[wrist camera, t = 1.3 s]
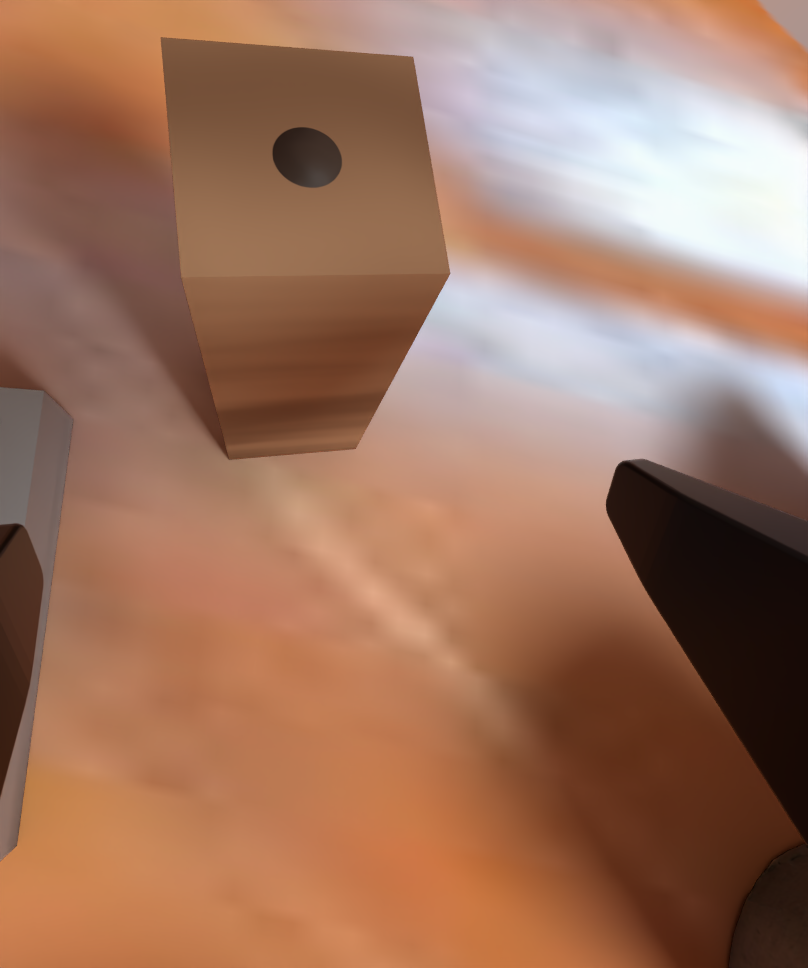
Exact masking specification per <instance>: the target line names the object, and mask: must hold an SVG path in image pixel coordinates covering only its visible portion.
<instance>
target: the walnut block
mask: <svg viewBox="0 0 808 968" xmlns="http://www.w3.org/2000/svg"><path fill="white" fill-rule="evenodd" d="M161 47H162V59H163V71H164V82H165V94H166V106H167V118H168V129H169V141H170V153H171V165H172V177H173V188H174V200H175V212H176V224H177V236H178V247H179V259H180V271H181V279H182V283H183V287H184V290H185V294H186V298H187V302H188V306H189V309H190V313H191V317H192V321H193V324H194V328H195V332H196V336H197V340H198V343H199V347H200V351H201V355H202V359H203V362H204V366H205V370H206V374H207V377H208V381H209V385H210V389H211V393H212V396H213V400H214V404H215V408H216V411H217V415H218V419H219V423H220V427H221V430H222V434H223V438H224V442H225V445H226V449H227V453H228V457H229V460H232V459H243V458H255V457H267V456H278V455H290V454H302V453H313V452H325V451H337V450H349V449H356V447H357V445H358V443H359V441H360V440H361V438H362V436H363V434H364V432H365V430H366V428H367V427H368V425H369V423H370V421H371V419H372V417H373V416H374V414H375V412H376V410H377V408H378V406H379V404H380V403H381V401H382V399H383V397H384V395H385V393H386V391H387V390H388V388H389V386H390V384H391V382H392V380H393V379H394V377H395V375H396V373H397V371H398V369H399V367H400V366H401V364H402V362H403V360H404V358H405V356H406V354H407V353H408V351H409V349H410V347H411V345H412V343H413V342H414V340H415V338H416V336H417V334H418V332H419V330H420V329H421V327H422V325H423V323H424V321H425V319H426V317H427V316H428V314H429V312H430V310H431V308H432V306H433V305H434V303H435V301H436V299H437V297H438V295H439V293H440V292H441V290H442V288H443V286H444V284H445V282H446V280H447V279H448V277H449V275H450V269H449V264H448V258H447V252H446V246H445V240H444V234H443V228H442V223H441V217H440V211H439V205H438V199H437V193H436V187H435V182H434V176H433V170H432V164H431V158H430V152H429V146H428V141H427V135H426V129H425V123H424V117H423V111H422V106H421V100H420V94H419V88H418V82H417V76H416V70H415V65H414V59H413V57H408V56H395V55H382V54H369V53H356V52H344V51H331V50H318V49H305V48H292V47H279V46H266V45H253V44H240V43H227V42H215V41H202V40H189V39H176V38H163V37H161Z"/></svg>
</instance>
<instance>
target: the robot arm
mask: <svg viewBox="0 0 808 968" xmlns="http://www.w3.org/2000/svg"><path fill="white" fill-rule="evenodd" d="M606 510H607V514H608V517H609V519H610V521H611V523H612V525H613V527H614V529H615V531H616V533H617V535H618V537H619V539H620V541H621V543H622V545H623V547H624V549H625V551H626V553H627V555H628V557H629V559H630V561H631V563H632V565H633V567H634V569H635V571H636V573H637V575H638V577H639V579H640V581H641V583H642V585H643V586H644V588H645V590H646V591H647V593H648V595H649V597H650V598H651V600H652V601H653V603H654V605H655V606H656V608H657V609H658V611H659V612H660V614H661V616H662V617H663V619H664V620H665V622H666V624H667V625H668V627H669V628H670V630H671V631H672V633H673V635H674V636H675V638H676V639H677V641H678V643H679V644H680V646H681V647H682V649H683V650H684V652H685V654H686V655H687V657H688V658H689V660H690V662H691V663H692V665H693V666H694V668H695V669H696V671H697V673H698V674H699V676H700V677H701V679H702V681H703V682H704V684H705V685H706V687H707V688H708V690H709V692H710V693H711V695H712V696H713V698H714V700H715V701H716V703H717V704H718V706H719V707H720V709H721V711H722V712H723V714H724V715H725V717H726V719H727V720H728V722H729V723H730V725H731V726H732V728H733V730H734V731H735V733H736V734H737V736H738V738H739V739H740V741H741V742H742V744H743V745H744V747H745V749H746V750H747V752H748V753H749V755H750V757H751V758H752V760H753V761H754V763H755V764H756V766H757V768H758V769H759V771H760V772H761V774H762V776H763V777H764V779H765V780H766V782H767V783H768V785H769V787H770V788H771V790H772V791H773V793H774V795H775V796H776V798H777V799H778V801H779V802H780V804H781V806H782V807H783V809H784V810H785V812H786V814H787V815H788V817H789V818H790V820H791V821H792V823H793V825H794V826H795V828H796V829H797V831H798V833H799V834H800V836H801V837H802V839H803V840H804V842H805V843H806V844H807V845H808V521H807V520H804V519H801V518H799V517H796V516H793V515H791V514H788V513H786V512H783V511H780V510H778V509H775V508H772V507H770V506H767V505H764V504H762V503H759V502H757V501H754V500H751V499H749V498H746V497H743V496H741V495H738V494H735V493H733V492H730V491H728V490H725V489H722V488H720V487H717V486H714V485H712V484H709V483H706V482H704V481H701V480H699V479H696V478H693V477H691V476H688V475H685V474H683V473H680V472H677V471H675V470H672V469H670V468H667V467H664V466H662V465H659V464H656V463H654V462H651V461H649V460H645V459H635V460H626V461H622V462H620V463H619V464H618V466H617V467H616V469H615V473H614V476H613V479H612V483H611V486H610V489H609V493H608V496H607V499H606ZM43 586H44V578H43V572H42V568H41V565H40V563H39V560H38V557H37V555H36V552H35V550H34V547H33V544H32V542H31V539H30V537H29V534H28V532H27V530H26V529H25V527H24V526H23V525H21V524H19V523H12V524H2V525H0V798H1V794H2V790H3V786H4V783H5V779H6V775H7V772H8V768H9V764H10V760H11V757H12V753H13V749H14V746H15V742H16V738H17V734H18V731H19V727H20V723H21V719H22V716H23V712H24V708H25V705H26V701H27V696H28V692H29V688H30V683H31V677H32V670H33V663H34V655H35V648H36V640H37V632H38V625H39V617H40V610H41V602H42V594H43Z"/></svg>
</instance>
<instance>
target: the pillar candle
mask: <svg viewBox="0 0 808 968" xmlns="http://www.w3.org/2000/svg"><path fill="white" fill-rule="evenodd" d="M729 968H808V845H807V844H802V845H801V846H799V847H796V848H793V849H791V850H789V851H787V852H785V853H784V854H783V855H780V856H779V857H778V858H777V859H774V860H773V861H772V862H771V864H770V865H769V866H768V868H767V869H766V870H765V871H764V873H762V875H761V876H760V877H759V879H758V880H757V882H756V884H755V886H754V887H753V889H752V891H751V893H750V894H749V896H748V897H747V899H746V902H745V904H744V906H743V908H742V912H741V915H740V918H739V920H738V923H737V925H736V929H735V932H734V936H733V941H732V946H731V953H730V961H729Z"/></svg>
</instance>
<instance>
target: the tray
mask: <svg viewBox="0 0 808 968" xmlns="http://www.w3.org/2000/svg"><path fill="white" fill-rule="evenodd" d="M72 425H73V418H72V417H71V416H70V415H69V414H68V413H67V412H66V411H65V410H64V409H63V408H62V407H61V406H59V405H58V404H57V403H56V402H55V401H54V400H53V399H52V398H51V397H50V396H49V395H48V394H47V393H46V392H45V391H42V390H29V389H17V388H4V387H0V525H2V524H12V523H19V524H21V525H23V526H24V527H25V529H26V530H27V532H28V534H29V537H30V539H31V542H32V544H33V547H34V550H35V552H36V555H37V557H38V560H39V563H40V565H41V568H42V572H43V578H44V586H43V594H42V602H41V610H40V617H39V625H38V632H37V640H36V648H35V655H34V663H33V670H32V677H31V683H30V688H29V692H28V696H27V701H26V705H25V708H24V712H23V716H22V719H21V723H20V727H19V731H18V734H17V738H16V742H15V746H14V749H13V753H12V757H11V760H10V764H9V768H8V772H7V775H6V779H5V783H4V786H3V790H2V794H1V798H0V861H1V860H2V859H3V858H4V857H5V856H6V855H7V854H9V853H10V852H11V851H12V850H13V849H14V848H15V847H16V846H17V841H18V833H19V826H20V818H21V811H22V803H23V795H24V788H25V780H26V773H27V765H28V758H29V750H30V742H31V735H32V727H33V720H34V712H35V705H36V697H37V690H38V682H39V674H40V667H41V659H42V652H43V644H44V637H45V629H46V621H47V614H48V606H49V599H50V591H51V584H52V576H53V568H54V561H55V553H56V546H57V538H58V531H59V523H60V515H61V508H62V500H63V493H64V485H65V478H66V470H67V463H68V455H69V447H70V440H71V432H72Z"/></svg>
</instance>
